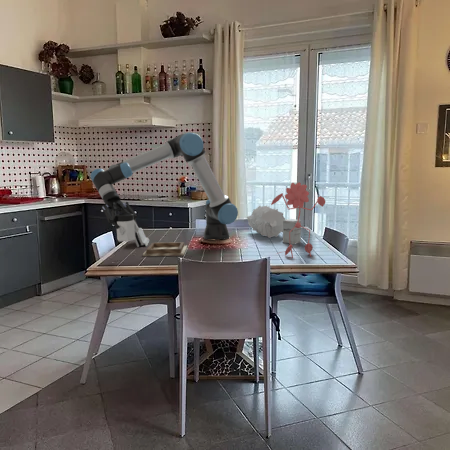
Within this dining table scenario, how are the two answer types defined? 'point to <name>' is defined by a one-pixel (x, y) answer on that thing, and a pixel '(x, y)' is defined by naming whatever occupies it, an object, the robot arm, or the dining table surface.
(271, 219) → the grey rounded scaly piece
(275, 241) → the dining table surface
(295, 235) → the supplement box
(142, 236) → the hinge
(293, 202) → the figurine
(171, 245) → the jar stand
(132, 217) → the jar
